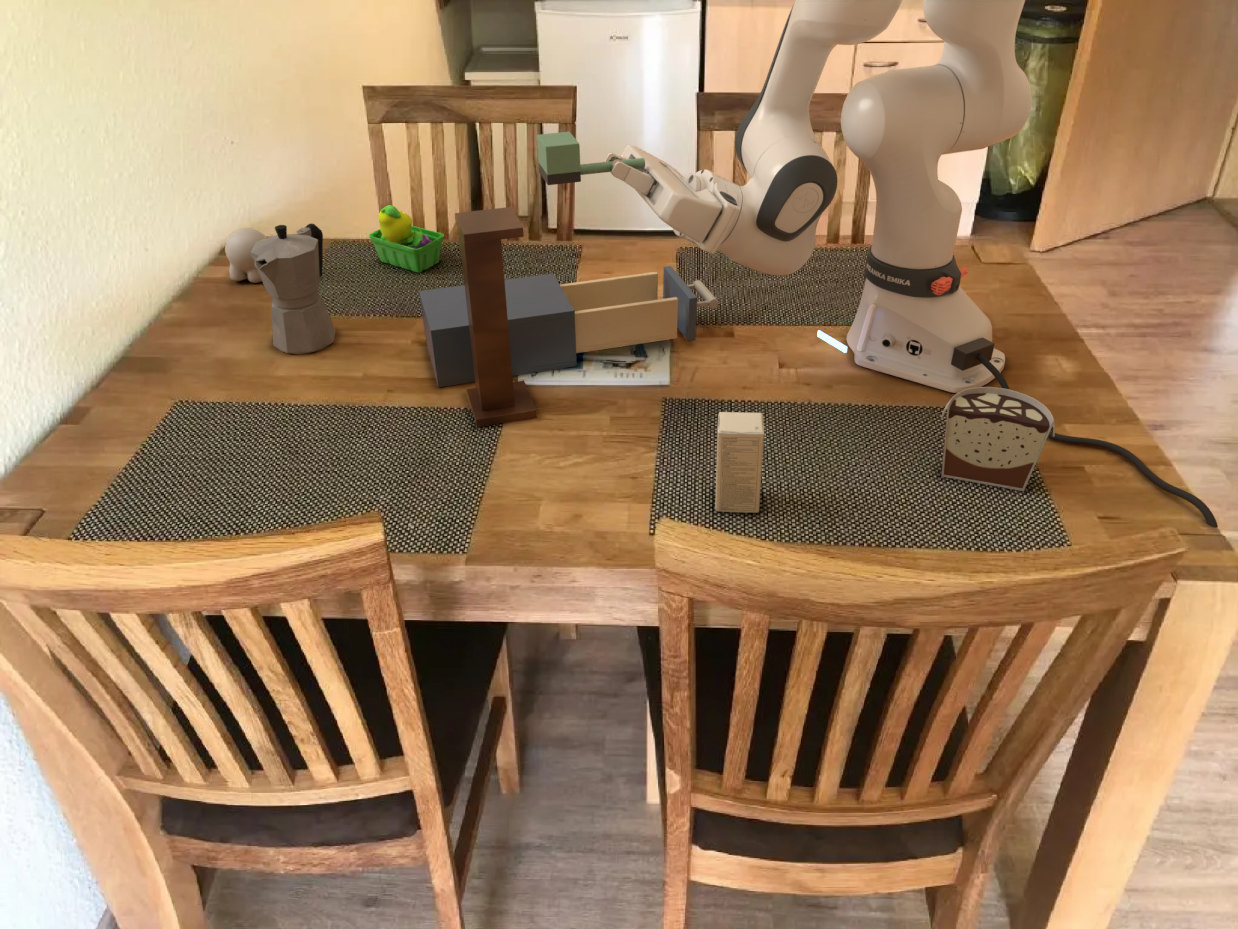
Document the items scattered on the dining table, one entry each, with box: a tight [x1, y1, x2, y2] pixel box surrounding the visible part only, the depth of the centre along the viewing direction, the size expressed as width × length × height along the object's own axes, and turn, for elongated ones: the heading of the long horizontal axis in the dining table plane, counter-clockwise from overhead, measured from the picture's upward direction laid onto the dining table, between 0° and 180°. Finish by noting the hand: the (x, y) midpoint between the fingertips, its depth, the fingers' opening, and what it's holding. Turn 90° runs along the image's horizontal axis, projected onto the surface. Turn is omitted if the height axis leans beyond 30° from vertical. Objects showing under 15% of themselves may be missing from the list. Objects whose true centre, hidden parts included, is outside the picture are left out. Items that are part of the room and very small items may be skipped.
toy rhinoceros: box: [224, 227, 268, 284], centre depth 162 cm, size 7×12×8 cm, turn 82°
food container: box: [940, 386, 1056, 492], centre depth 115 cm, size 12×6×10 cm, turn 71°
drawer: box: [559, 265, 719, 354], centre depth 144 cm, size 23×12×7 cm, turn 106°
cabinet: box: [418, 273, 578, 388], centre depth 140 cm, size 20×13×9 cm, turn 106°
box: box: [714, 411, 765, 514], centre depth 110 cm, size 5×4×11 cm
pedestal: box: [454, 206, 538, 428], centre depth 123 cm, size 8×8×26 cm
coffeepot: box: [251, 223, 337, 355], centre depth 142 cm, size 15×9×18 cm, turn 163°
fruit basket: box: [368, 204, 445, 274], centre depth 166 cm, size 11×9×11 cm
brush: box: [536, 131, 645, 186], centre depth 116 cm, size 12×5×4 cm, turn 106°
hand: (610, 162), depth 117 cm, fingers closed on brush
